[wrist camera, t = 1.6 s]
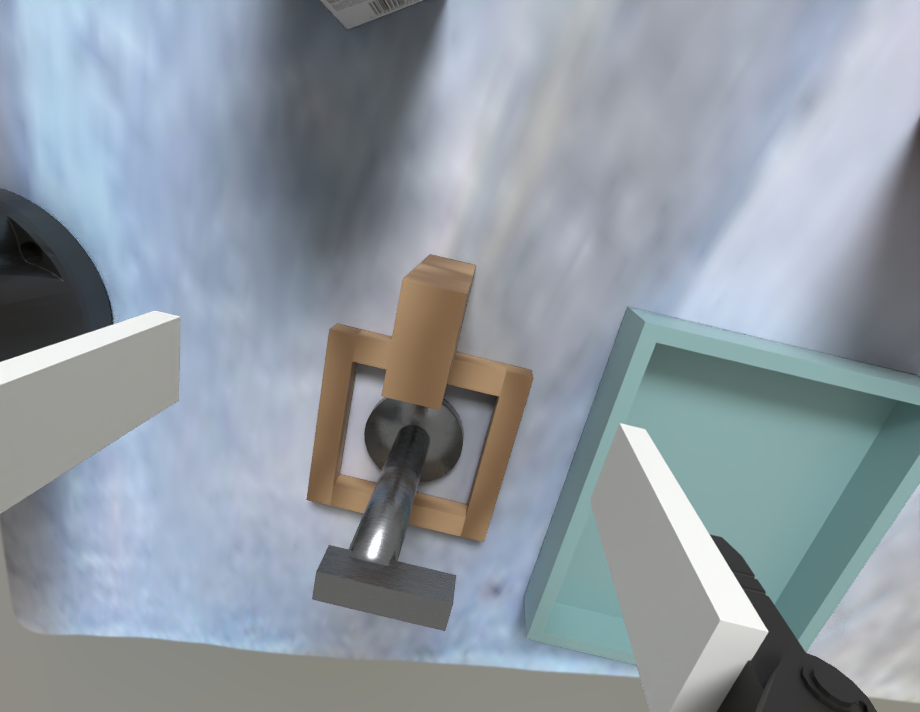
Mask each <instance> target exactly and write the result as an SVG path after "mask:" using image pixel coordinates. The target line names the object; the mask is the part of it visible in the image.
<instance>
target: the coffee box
mask: <svg viewBox="0 0 920 712" xmlns="http://www.w3.org/2000/svg"><path fill="white" fill-rule="evenodd" d="M320 1H321V2H322V3H323V5H324V6H325V7H326V8H327V9H328V10H329V11H330V12H331V13H332V14H333V15H334V16H335V17H336V18H337V19H338V21H339V22H340V23H341V24H342V25H343V26H344V27H345V28H346V29H351V28H353V27H356V26H359V25H361V24H364V23H367V22H369V21H372V20H374V19H377V18H379V17H382V16H385V15H387V14H390V13H392V12H395V11H398V10H400V9H403V8H405V7H408V6H411V5H413V4H416V3H418V2H421V1H424V0H320Z"/></svg>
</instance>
